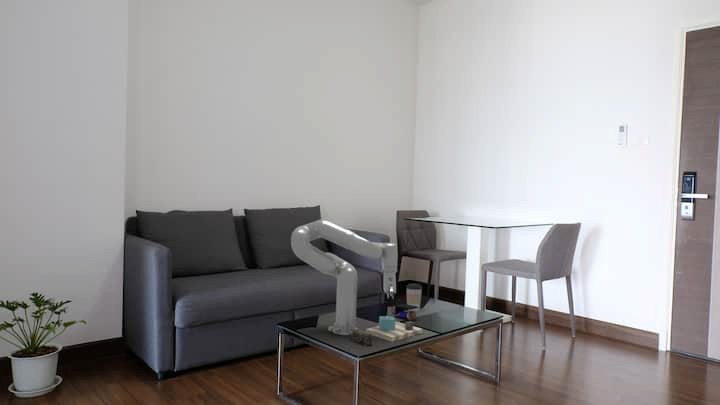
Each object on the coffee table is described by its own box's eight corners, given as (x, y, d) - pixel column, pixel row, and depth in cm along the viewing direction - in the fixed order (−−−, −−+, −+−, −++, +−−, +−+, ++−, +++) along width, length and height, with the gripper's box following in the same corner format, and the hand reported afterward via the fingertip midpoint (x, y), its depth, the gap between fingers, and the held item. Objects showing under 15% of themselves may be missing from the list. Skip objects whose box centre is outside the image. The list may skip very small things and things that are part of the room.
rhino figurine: (353, 338, 236) (353, 325, 236) (374, 345, 226) (374, 331, 226) (346, 339, 233) (346, 326, 233) (367, 347, 223) (368, 333, 223)
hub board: (392, 341, 232) (392, 329, 232) (365, 333, 244) (365, 321, 244) (422, 333, 247) (422, 321, 247) (396, 325, 259) (396, 314, 259)
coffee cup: (403, 308, 298) (404, 282, 298) (417, 307, 301) (418, 282, 300) (409, 311, 289) (410, 285, 289) (423, 311, 292) (424, 285, 292)
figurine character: (390, 319, 278) (411, 321, 267) (389, 304, 279) (410, 306, 268) (398, 317, 283) (419, 319, 272) (398, 303, 283) (418, 305, 272)
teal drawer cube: (395, 330, 243) (395, 319, 243) (380, 330, 243) (381, 319, 242) (392, 326, 250) (393, 315, 250) (379, 326, 249) (379, 315, 249)
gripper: (399, 271, 237) (399, 308, 238) (394, 266, 254) (393, 300, 255) (383, 271, 237) (383, 308, 237) (379, 266, 254) (378, 300, 254)
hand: (388, 304), depth 246 cm, fingers open, 9 cm apart
